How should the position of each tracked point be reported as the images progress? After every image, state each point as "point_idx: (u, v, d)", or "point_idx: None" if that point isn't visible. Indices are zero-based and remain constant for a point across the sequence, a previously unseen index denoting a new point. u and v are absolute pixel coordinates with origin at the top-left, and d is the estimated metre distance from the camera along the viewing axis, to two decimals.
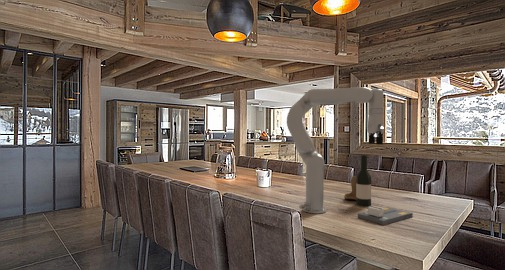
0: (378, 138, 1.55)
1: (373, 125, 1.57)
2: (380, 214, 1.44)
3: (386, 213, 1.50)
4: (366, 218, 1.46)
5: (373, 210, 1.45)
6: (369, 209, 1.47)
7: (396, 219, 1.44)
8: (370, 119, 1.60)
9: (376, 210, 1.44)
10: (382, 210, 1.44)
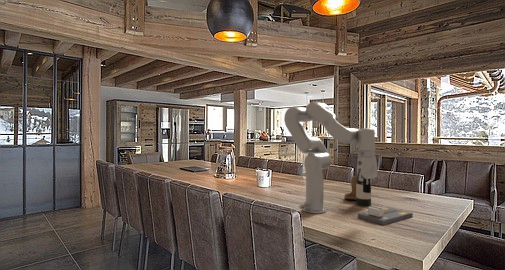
0: None
1: (376, 169, 1.41)
2: (380, 214, 1.44)
3: (386, 213, 1.50)
4: (366, 218, 1.46)
5: (373, 210, 1.45)
6: (369, 209, 1.47)
7: (396, 219, 1.44)
8: (371, 162, 1.39)
9: (376, 210, 1.44)
10: (382, 210, 1.44)
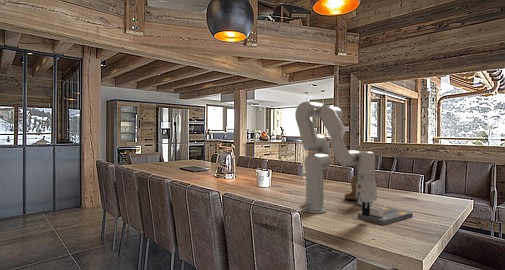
0: None
1: (375, 192, 1.42)
2: (380, 214, 1.44)
3: (386, 213, 1.50)
4: (366, 218, 1.46)
5: (373, 210, 1.45)
6: None
7: (396, 219, 1.44)
8: (371, 186, 1.40)
9: (376, 210, 1.44)
10: (382, 210, 1.44)
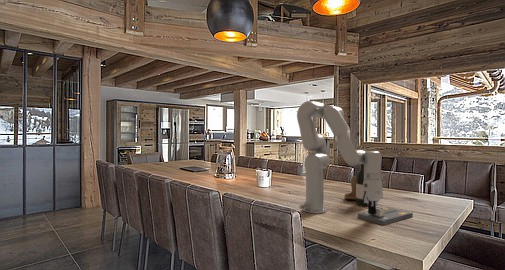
0: None
1: (381, 191, 1.44)
2: (381, 214, 1.44)
3: (386, 213, 1.50)
4: (366, 218, 1.46)
5: None
6: None
7: (396, 219, 1.44)
8: (377, 185, 1.42)
9: (377, 210, 1.44)
10: (383, 210, 1.45)
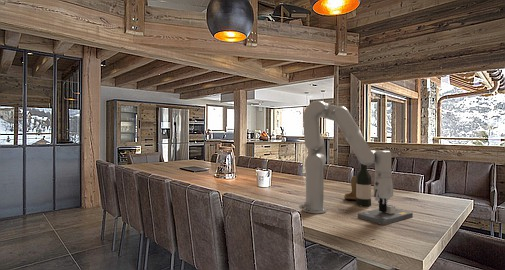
0: None
1: (392, 189, 1.49)
2: (392, 211, 1.49)
3: (386, 213, 1.50)
4: (366, 218, 1.46)
5: None
6: None
7: (396, 219, 1.44)
8: (388, 183, 1.47)
9: (388, 207, 1.49)
10: (394, 207, 1.50)
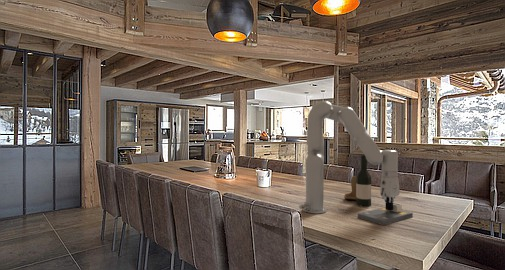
0: None
1: (398, 188, 1.52)
2: (398, 210, 1.52)
3: (386, 213, 1.50)
4: (366, 218, 1.46)
5: None
6: None
7: (396, 219, 1.44)
8: (394, 182, 1.50)
9: (394, 206, 1.52)
10: (400, 206, 1.53)
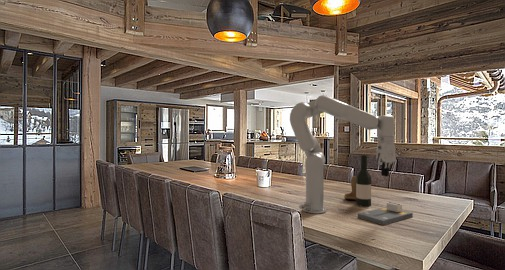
0: None
1: (394, 154, 1.50)
2: (399, 209, 1.52)
3: (386, 213, 1.50)
4: (366, 218, 1.46)
5: (392, 206, 1.54)
6: (387, 205, 1.56)
7: (396, 219, 1.44)
8: (390, 147, 1.48)
9: (395, 206, 1.52)
10: (400, 206, 1.53)
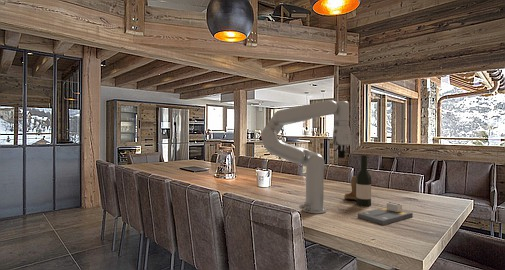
0: None
1: (349, 137, 1.61)
2: (399, 209, 1.52)
3: (386, 213, 1.50)
4: (366, 218, 1.46)
5: (392, 206, 1.54)
6: (387, 205, 1.56)
7: (396, 219, 1.44)
8: (345, 131, 1.59)
9: (395, 206, 1.52)
10: (400, 206, 1.53)
